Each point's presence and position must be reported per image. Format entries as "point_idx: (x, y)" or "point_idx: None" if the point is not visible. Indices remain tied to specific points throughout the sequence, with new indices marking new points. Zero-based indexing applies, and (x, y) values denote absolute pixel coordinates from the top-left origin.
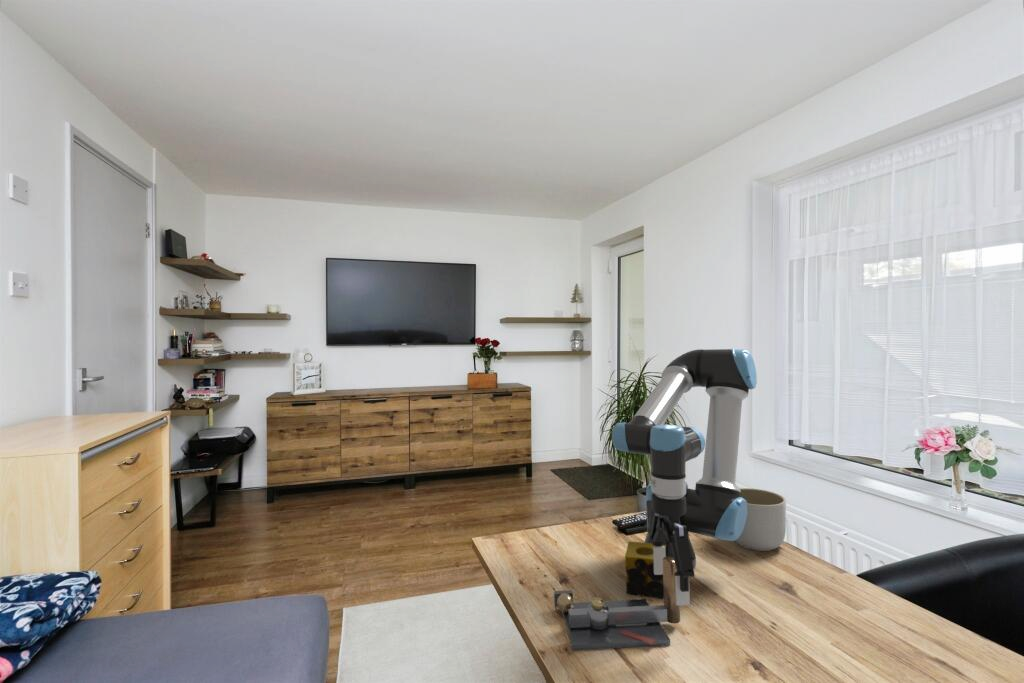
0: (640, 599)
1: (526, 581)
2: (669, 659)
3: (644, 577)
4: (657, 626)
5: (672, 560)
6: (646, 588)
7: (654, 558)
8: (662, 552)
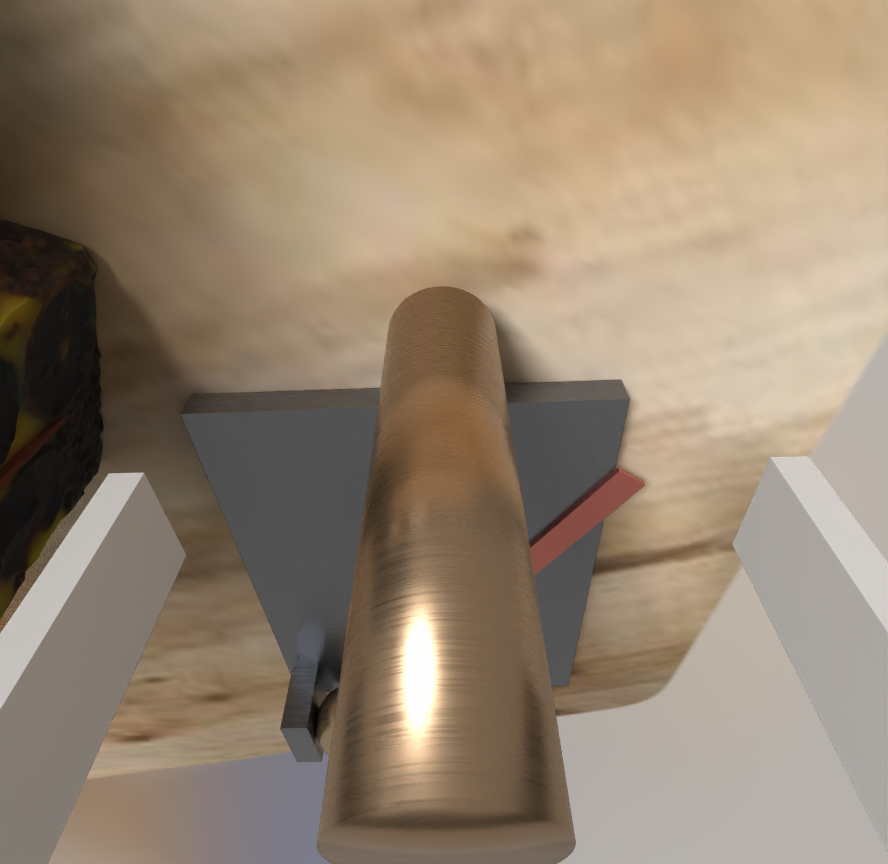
0: (195, 440)
1: (127, 729)
2: (724, 414)
3: (21, 468)
4: None
5: (459, 838)
6: (71, 406)
7: (107, 722)
8: (13, 761)
